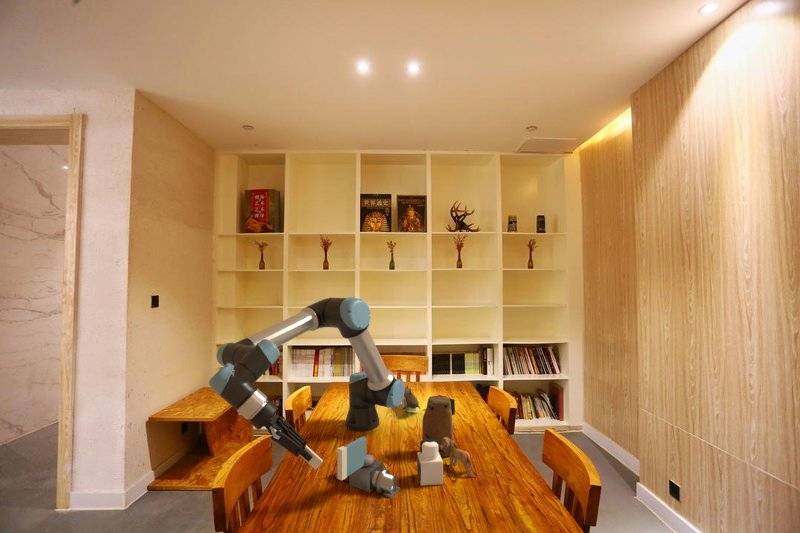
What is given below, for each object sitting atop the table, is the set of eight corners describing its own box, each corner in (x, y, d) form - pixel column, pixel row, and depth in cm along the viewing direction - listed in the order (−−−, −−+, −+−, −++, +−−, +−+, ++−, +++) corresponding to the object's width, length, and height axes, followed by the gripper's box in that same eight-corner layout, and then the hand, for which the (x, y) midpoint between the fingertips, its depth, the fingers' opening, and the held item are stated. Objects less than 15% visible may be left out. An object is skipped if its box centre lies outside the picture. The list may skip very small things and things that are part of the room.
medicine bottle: (417, 474, 120) (416, 436, 120) (438, 473, 120) (438, 435, 121) (420, 486, 113) (419, 446, 113) (443, 484, 113) (442, 444, 114)
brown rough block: (450, 448, 139) (449, 394, 140) (454, 457, 131) (453, 400, 132) (421, 449, 138) (421, 395, 139) (424, 458, 131) (423, 401, 132)
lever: (365, 458, 118) (365, 431, 118) (376, 461, 115) (376, 434, 116) (334, 477, 106) (334, 447, 106) (345, 482, 103) (345, 451, 104)
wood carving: (408, 397, 205) (408, 377, 205) (425, 419, 170) (424, 394, 171) (393, 398, 203) (392, 378, 204) (406, 420, 169) (406, 395, 169)
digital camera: (456, 413, 177) (456, 399, 178) (448, 416, 174) (448, 401, 175) (442, 408, 186) (441, 394, 186) (434, 410, 182) (433, 396, 183)
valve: (333, 481, 117) (333, 459, 118) (347, 472, 123) (347, 451, 123) (388, 502, 105) (388, 478, 106) (401, 490, 111) (401, 468, 112)
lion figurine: (437, 464, 126) (437, 438, 127) (447, 459, 130) (446, 433, 130) (473, 480, 116) (472, 451, 116) (482, 474, 119) (482, 446, 120)
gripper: (252, 412, 108) (310, 464, 111) (243, 428, 96) (308, 487, 98) (271, 393, 110) (328, 445, 112) (265, 406, 97) (328, 464, 99)
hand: (319, 464), depth 105 cm, fingers closed
